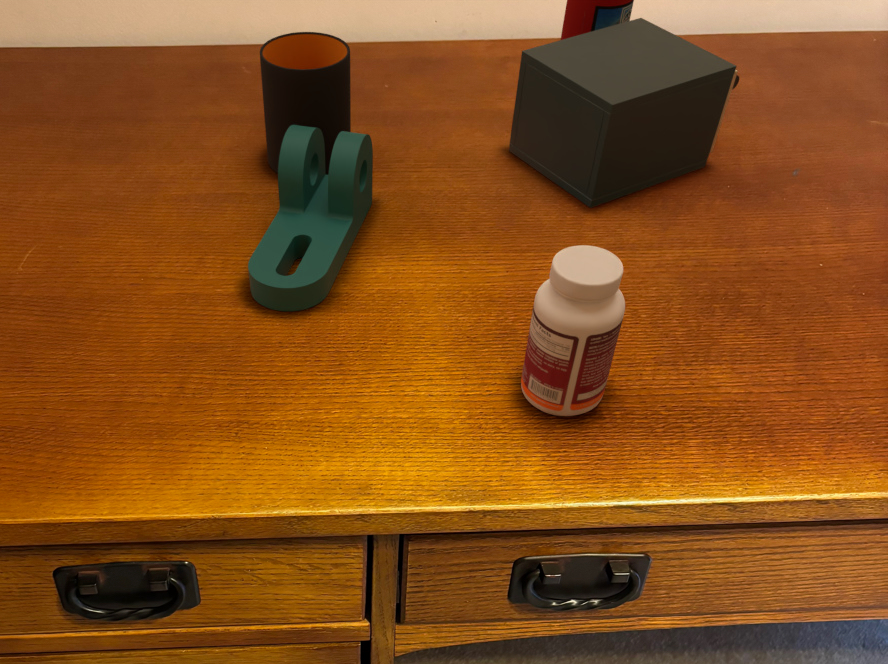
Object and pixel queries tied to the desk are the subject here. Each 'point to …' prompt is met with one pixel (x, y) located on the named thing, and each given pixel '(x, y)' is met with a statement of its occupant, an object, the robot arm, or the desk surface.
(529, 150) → the dark grey box
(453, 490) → the desk surface
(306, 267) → the bracket
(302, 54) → the mug
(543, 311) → the pill bottle
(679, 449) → the desk surface
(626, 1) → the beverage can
